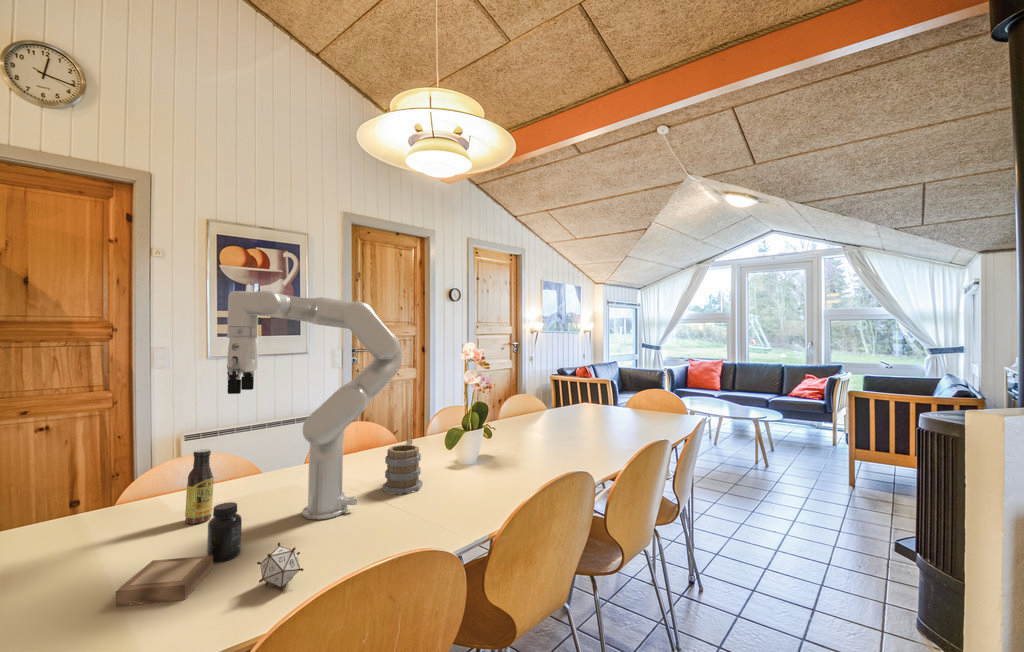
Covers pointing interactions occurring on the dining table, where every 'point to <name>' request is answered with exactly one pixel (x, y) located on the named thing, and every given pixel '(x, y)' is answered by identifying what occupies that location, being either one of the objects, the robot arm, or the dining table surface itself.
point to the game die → (280, 566)
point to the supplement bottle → (224, 533)
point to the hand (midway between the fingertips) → (240, 391)
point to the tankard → (402, 468)
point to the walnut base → (165, 580)
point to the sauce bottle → (199, 489)
